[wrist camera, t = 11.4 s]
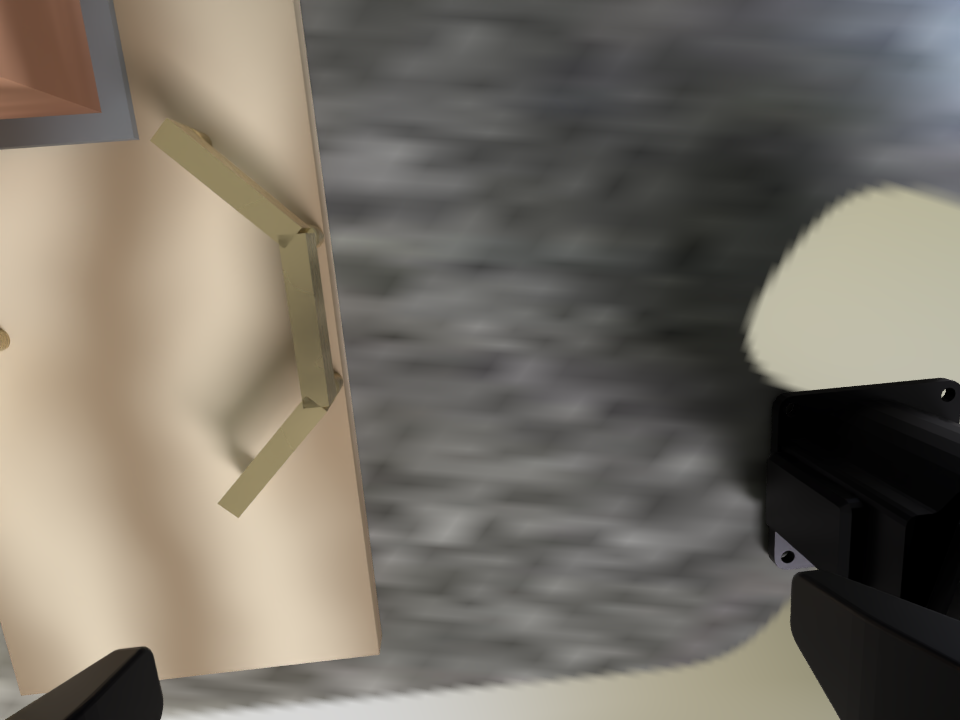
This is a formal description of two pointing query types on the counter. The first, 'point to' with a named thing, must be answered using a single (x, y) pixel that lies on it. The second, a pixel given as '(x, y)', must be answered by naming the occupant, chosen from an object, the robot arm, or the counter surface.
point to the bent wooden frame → (300, 290)
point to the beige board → (170, 366)
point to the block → (45, 60)
